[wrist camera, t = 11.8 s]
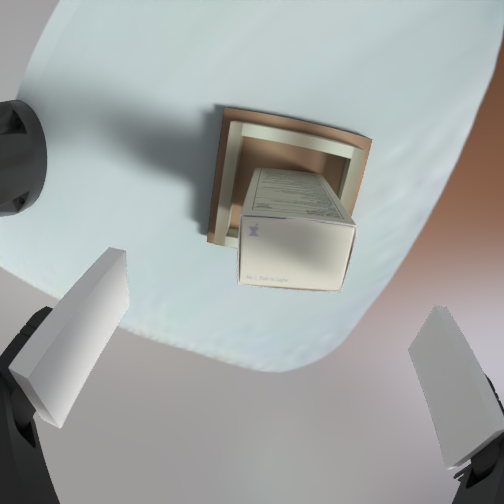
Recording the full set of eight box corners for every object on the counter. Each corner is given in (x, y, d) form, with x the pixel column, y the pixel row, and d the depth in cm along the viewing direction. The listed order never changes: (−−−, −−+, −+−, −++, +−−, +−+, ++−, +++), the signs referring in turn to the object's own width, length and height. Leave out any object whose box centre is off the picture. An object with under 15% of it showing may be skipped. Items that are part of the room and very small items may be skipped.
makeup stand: (209, 236, 30) (202, 251, 28) (227, 107, 24) (220, 107, 21) (333, 260, 30) (338, 277, 28) (368, 137, 24) (379, 142, 21)
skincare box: (251, 211, 27) (231, 286, 17) (254, 164, 25) (234, 211, 15) (319, 218, 27) (341, 297, 16) (326, 172, 25) (359, 225, 14)
